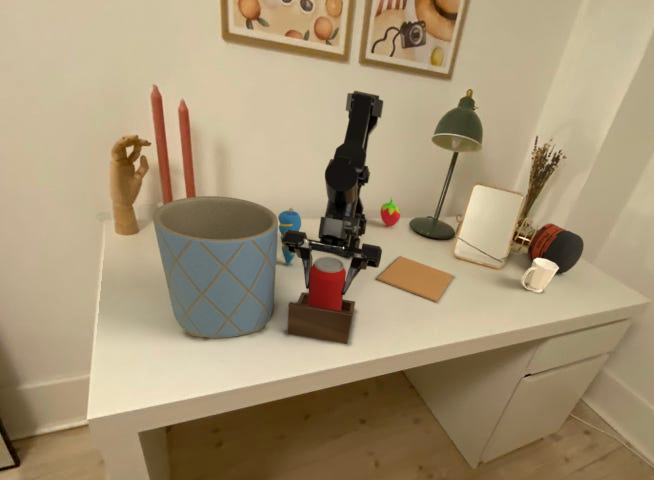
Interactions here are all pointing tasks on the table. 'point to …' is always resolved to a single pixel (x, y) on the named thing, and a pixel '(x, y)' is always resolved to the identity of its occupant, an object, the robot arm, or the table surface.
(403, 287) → the placemat
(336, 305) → the beverage can
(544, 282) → the cup
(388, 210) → the red strawberry
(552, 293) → the table surface
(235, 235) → the planter
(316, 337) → the open wooden box
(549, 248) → the oil filter
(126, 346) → the table surface
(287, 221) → the ornament
